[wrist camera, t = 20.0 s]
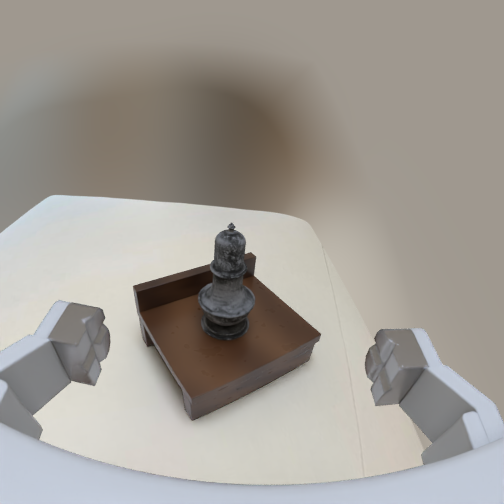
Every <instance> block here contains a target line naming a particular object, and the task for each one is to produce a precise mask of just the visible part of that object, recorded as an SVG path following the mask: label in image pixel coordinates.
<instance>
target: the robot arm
mask: <svg viewBox="0 0 504 504" xmlns="http://www.w3.org/2000/svg"><path fill="white" fill-rule="evenodd" d="M104 319H105V316H104V313H103V310H102V309H100V308H98V307H92V306H87V305H82V304H77V303H71V302H66V301H61V300H58V301H56V302H55V303H54V304H53V306H52V307H51V309H50V310H49V312H48V313H47V315H46V316H45V318H44V319H43V321H42V322H41V324H40V325H39V327H38V328H37V330H36V331H35V333H34V335H28V336H26V337H24V338H22V339H21V340H19V341H17V342H16V343H14V344H12V345H11V346H9V347H7V348H5V349H4V350H2V351H0V504H504V423H503V420H502V418H501V416H500V413H499V411H498V409H497V407H496V405H495V403H494V402H492V401H491V400H490V399H489V398H487V397H486V396H485V395H484V394H482V393H481V392H480V391H479V390H477V389H476V388H475V387H474V386H472V385H471V384H470V383H468V382H467V381H466V380H465V379H463V378H462V377H461V376H460V375H458V374H457V373H456V372H454V371H453V370H452V369H451V368H449V367H448V366H447V365H445V366H443V365H442V363H441V361H440V358H439V356H438V354H437V353H436V350H435V348H434V346H433V345H432V343H431V341H430V339H429V337H428V335H427V333H426V331H425V330H424V329H423V328H413V329H381V330H379V331H378V332H377V334H376V336H375V338H374V339H375V342H376V344H375V345H373V346H372V347H371V348H369V351H368V353H367V355H366V360H365V370H366V374H367V377H368V378H369V379H370V380H371V381H372V382H373V385H372V387H371V392H372V395H373V399H374V402H375V406H380V405H393V404H399V406H400V407H401V408H402V409H403V411H404V412H405V413H406V414H407V415H408V416H409V417H410V418H411V419H412V421H413V422H414V423H415V424H416V425H417V426H418V427H419V428H420V429H421V431H422V432H423V433H424V434H425V435H426V436H427V437H428V438H429V440H430V441H431V442H432V444H431V445H430V446H429V447H428V448H427V449H425V450H424V451H423V453H422V454H421V456H422V460H423V464H424V465H422V466H418V467H414V468H410V469H406V470H402V471H397V472H392V473H387V474H382V475H377V476H371V477H365V478H358V479H351V480H343V481H334V482H324V483H311V484H292V485H247V484H228V483H215V482H205V481H196V480H188V479H181V478H174V477H168V476H162V475H156V474H151V473H146V472H141V471H137V470H132V469H128V468H124V467H120V466H116V465H112V464H108V463H105V462H101V461H98V460H94V459H91V458H88V457H84V456H81V455H78V454H75V453H72V452H69V451H67V450H64V449H61V448H58V447H56V446H53V445H50V444H48V443H45V442H43V441H41V440H39V439H40V436H41V433H42V427H41V425H40V424H39V423H38V422H37V421H36V419H35V418H34V417H33V415H34V414H35V413H36V412H37V411H38V410H40V409H41V408H42V407H43V406H44V405H45V404H46V403H48V402H49V401H50V400H51V399H52V398H53V397H55V396H56V395H57V394H58V393H59V392H60V391H61V390H63V389H64V388H65V387H66V386H67V385H68V384H70V383H71V381H75V382H79V383H83V384H88V385H92V386H95V384H96V382H97V379H98V377H99V374H100V372H101V370H102V369H101V366H100V362H101V361H103V360H104V359H106V357H107V355H108V352H109V348H110V333H109V330H108V328H107V327H106V326H105V325H104V324H103V321H104Z"/></svg>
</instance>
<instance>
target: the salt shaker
mask: <svg viewBox="0 0 504 504" xmlns="http://www.w3.org/2000/svg"><path fill="white" fill-rule="evenodd" d="M228 228H229V229H228V230H224V231H222V232H220V233H219V234H218V235H217V236H216V239H215V252H214V260H213V261H212V262H211V264H210V270H211V271H212V273H213V283H210V284H208V285H206V286H205V287H203V288H202V289H201V291H200V292H199V295H198V303H199V305H200V307H201V308H202V310H203V312H204V315H203V316H202V319H201V326H202V328H203V330H204V331H205V333H206V334H208V335H209V336H211V337H213V338H215V339H218V340H234V339H238V338H240V337H241V336H243V335H244V334H245V333H246V332H247V330H248V329H249V320H248V318H247V316H248V314H249V313H250V311H251V310H252V309H253V307H254V305H255V297H254V294H253V293H252V291H251V290H250V289H248V288H247V287H246V286H244V285H243V284H242V283H243V275H244V274H245V273H246V272H247V265H246V264H245V262H244V255H245V245H246V241H245V237H244V236H243V235H242V234H241V233H240V232H238V231H236V230H234V228H235V226H234V224H233V223H231V224H229V226H228Z"/></svg>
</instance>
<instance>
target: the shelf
mask: <svg viewBox="0 0 504 504" xmlns="http://www.w3.org/2000/svg"><path fill="white" fill-rule="evenodd" d="M244 262H245V264H246V265H247V272H246V273H245V274H244V275H243V283H242V284H243V285H244V286H246V287H247V288H248V289H250V290H251V291H252V293H253V294H254V297H255V305H254V307H253V309H252V310H251V311H250V313H249V314H248V316H247V318H248V320H249V329H248V330H247V332H246V333H245V334H244V335H243V336H241V337H240V338H238V339H234V340H218V339H215V338H213V337H211V336H209V335H208V334H206V333H205V331H204V330H203V328H202V326H201V319H202V316H203V315H204V312H203V310H202V308H201V307H200V305H199V303H198V295H199V292H200V291H201V289H202V288H203V287H205V286H206V285H208V284H210V283H213V273H212V271H211V270H210V264H208V265H205V266H201V267H198V268H194V269H191V270H187V271H184V272H180V273H177V274H173V275H170V276H166V277H163V278H159V279H156V280H152V281H149V282H145V283H142V284H138V285H135V286H133V290H134V296H135V302H136V308H137V313H138V316H139V320H140V326H141V331H142V336H143V339H144V341H145V343H146V345H147V346H150V345H153V344H154V345H155V346H156V348H157V350H158V351H159V353H160V355H161V357H162V358H163V360H164V362H165V363H166V365H167V367H168V368H169V370H170V371H171V373H172V375H173V376H174V378H175V379H176V381H177V383H178V384H179V386H180V387H181V389H182V390H183V398H184V406H185V410H186V412H187V413H188V415H189V416H190V418H191V419H192V420H195V419H197V418H199V417H201V416H204V415H206V414H208V413H210V412H212V411H214V410H216V409H219V408H221V407H223V406H225V405H227V404H229V403H231V402H233V401H235V400H237V399H239V398H241V397H243V396H245V395H247V394H249V393H251V392H253V391H255V390H257V389H258V388H260V387H262V386H264V385H266V384H268V383H270V382H271V381H273V380H275V379H277V378H279V377H280V376H282V375H284V374H286V373H288V372H289V371H291V370H293V369H295V368H296V367H298V366H300V365H301V364H303V363H305V362H307V361H308V360H309V359H310V356H311V353H312V350H313V347H314V344H315V343H316V342H318V341H319V339H320V336H321V334H320V333H319V332H318V331H317V330H316V329H315V328H313V327H312V326H311V325H310V324H309V323H308V322H306V321H305V320H304V319H303V318H302V317H301V316H299V315H298V314H297V313H296V312H295V311H294V310H293V309H291V308H290V307H289V306H288V305H287V304H286V303H284V302H283V301H282V300H281V299H280V298H279V297H278V296H276V295H275V294H274V293H273V292H272V291H271V290H269V289H268V288H267V287H266V286H265V285H264V284H263V283H261V282H260V281H259V280H258V279H257V278H256V277H255V276H254V270H255V262H256V256H255V255H254V254H252V253H251V252H250V253H247V254H245V255H244Z"/></svg>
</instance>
